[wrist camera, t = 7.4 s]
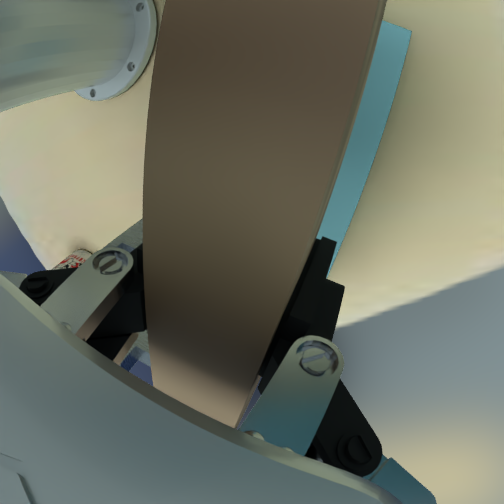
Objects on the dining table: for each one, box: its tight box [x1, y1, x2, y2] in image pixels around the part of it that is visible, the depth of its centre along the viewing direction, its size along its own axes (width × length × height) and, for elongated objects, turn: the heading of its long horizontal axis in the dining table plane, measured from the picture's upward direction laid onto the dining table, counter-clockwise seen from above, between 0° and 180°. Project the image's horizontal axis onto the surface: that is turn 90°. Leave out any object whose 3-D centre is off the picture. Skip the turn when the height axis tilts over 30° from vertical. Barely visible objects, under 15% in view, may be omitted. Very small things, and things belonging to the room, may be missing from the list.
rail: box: [143, 0, 387, 429], centre depth 9 cm, size 20×3×4 cm, turn 169°
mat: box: [316, 21, 412, 278], centre depth 21 cm, size 22×8×1 cm, turn 169°
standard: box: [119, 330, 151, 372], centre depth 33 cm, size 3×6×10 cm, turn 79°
